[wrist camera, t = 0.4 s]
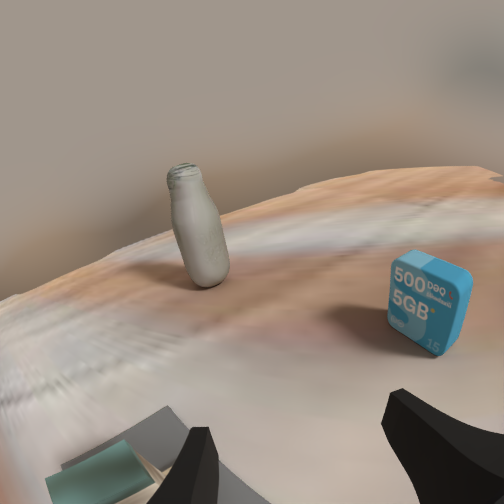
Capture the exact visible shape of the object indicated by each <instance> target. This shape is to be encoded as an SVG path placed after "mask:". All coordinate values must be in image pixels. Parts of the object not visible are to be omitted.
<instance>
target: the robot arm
mask: <svg viewBox="0 0 504 504" xmlns="http://www.w3.org/2000/svg"><path fill="white" fill-rule="evenodd" d="M381 425H382V427H383V430H384V432H385V435H386V437H387V439H388V442H389V444H390V445H391V447H392V449H393V450H394V452H395V454H396V456H397V457H398V459H399V461H400V462H401V464H402V466H403V467H404V469H405V471H406V472H407V474H408V476H409V478H410V480H411V481H412V484H413V486H414V489H415V491H416V494H417V496H418V499H419V502H420V504H504V434H499V433H494V432H489V431H486V430H482V429H479V428H476V427H473V426H470V425H468V424H465V423H463V422H461V421H459V420H456V419H454V418H452V417H450V416H448V415H446V414H445V413H443V412H441V411H439V410H437V409H436V408H434V407H432V406H431V405H429V404H427V403H426V402H424V401H422V400H421V399H419V398H418V397H416V396H414V395H413V394H411V393H410V392H408V391H406V390H405V389H403V388H402V389H399V390H396V391H394V392H391V393H390V396H389V399H388V403H387V406H386V409H385V413H384V416H383V419H382V422H381ZM218 488H219V459H218V453H217V450H216V447H215V444H214V441H213V439H212V436H211V433H210V430H209V427H192V428H191V429H190V431H189V434H188V436H187V438H186V441H185V443H184V445H183V447H182V449H181V451H180V453H179V455H178V457H177V459H176V460H175V462H174V464H173V466H172V468H171V469H170V471H169V473H168V474H167V476H166V477H165V479H164V480H163V482H162V483H161V485H160V486H159V488H158V489H157V490H156V492H155V493H154V494H153V496H152V497H151V498H150V499H149V501H148V502H147V503H146V504H217V501H218Z"/></svg>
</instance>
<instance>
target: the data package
mask: <svg viewBox="0 0 504 504" xmlns="http://www.w3.org/2000/svg"><path fill="white" fill-rule="evenodd" d="M472 286H473V278H472V276H471V274H470V273H469V272H468V271H467V270H465V269H463V268H460V267H458V266H456V265H453V264H451V263H448V262H446V261H443V260H441V259H438V258H436V257H433V256H431V255H428V254H426V253H423V252H421V251H418V250H411V251H409V252H407V253H406V254H404V255H402V256H400V257H399V258H397V259H395V260H394V261H393V262H392V265H391V280H390V294H389V305H388V315H387V318H388V321H389V323H390V325H391V326H392V327H393V328H395V329H396V330H398V331H399V332H401V333H402V334H404V335H405V336H407V337H408V338H410V339H411V340H413V341H414V342H416V343H417V344H419V345H420V346H422V347H424V348H425V349H427V350H428V351H430V352H431V353H433V354H434V355H437V356H441V355H443V354H444V353H445V352H446V351H447V350H448V349H449V347H450V346H451V345H452V344H453V343H454V342H455V341H456V340H457V338H458V337H459V334H460V331H461V328H462V324H463V321H464V318H465V314H466V311H467V307H468V303H469V299H470V295H471V291H472Z"/></svg>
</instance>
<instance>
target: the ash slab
mask: <svg viewBox="0 0 504 504" xmlns="http://www.w3.org/2000/svg"><path fill="white" fill-rule="evenodd" d="M165 477H166V475H164V474H163V473H162V472H161V471H159V470H158V469H157V468H155V467H154V466H153V465H152V464H151V463H149V462H148V461H147V460H146V459H145V458H143V457H142V456H141V455H140V454H139V453H138V452H136V451H135V450H134V449H133V448H132V446H131V445H130V444H129V443H128V442H126V441H125V440H124V439H123V440H122V441H120V442H118V443H116V444H114V445H113V446H111V447H109V448H107V449H105V450H103V451H102V452H100V453H98V454H96V455H94V456H92V457H90V458H88V459H86V460H84V461H82V462H80V463H78V464H76V465H74V466H72V467H70V468H68V469H65V470H63V471H61V472H59V473H57V474H54V475H52V476H50V477H47V478H45V481H46V484H47V487H48V491H49V494H50V497H51V500H52V502H53V504H146V503H147V502H148V501H149V499H150V498H151V497H152V496H153V494H154V493H155V492H156V490H157V489H158V488H159V486H160V485H161V483H162V482H163V480H164V479H165Z"/></svg>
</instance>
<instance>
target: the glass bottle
mask: <svg viewBox="0 0 504 504" xmlns="http://www.w3.org/2000/svg"><path fill="white" fill-rule="evenodd" d="M167 185H168V188H169V192H170V198H171V221H172V227H173V231H174V234H175V237H176V240H177V243H178V246H179V249H180V252H181V255H182V258H183V261H184V264H185V267H186V270H187V272H188V274H189V276H190V277H191V279H192V280H193V282H194V283H196V284H197V285H199V286H202V287H212V286H215V285H217V284H219V283H221V282H222V281H223V280H224V279H225V278H226V276H227V275H228V272H229V268H230V261H229V255H228V251H227V246H226V242H225V238H224V233H223V229H222V224H221V220H220V216H219V213H218V211H217V208H216V206H215V204H214V202H213V200H212V199H211V197H210V196H209V193H208V191H207V189H206V187H205V185H204V182H203V179H202V174H201V171H200V170H199V168H198V167H197V166H196V165H195V164H190V163H184V164H181V165H178V166H175V167H173V168H171V169H170V170H169V172H168V175H167Z"/></svg>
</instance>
